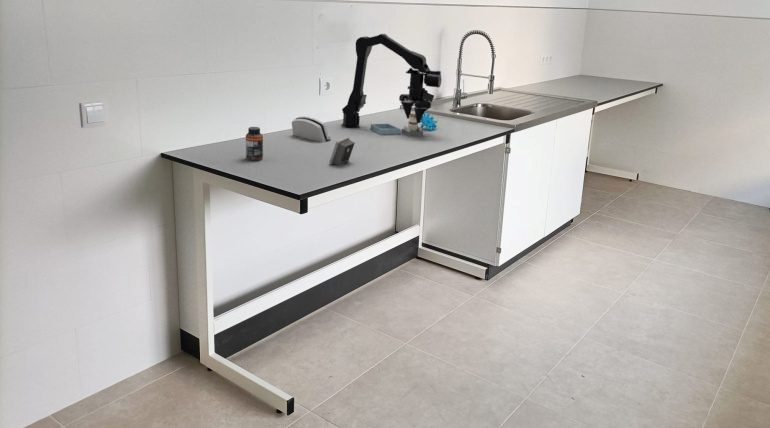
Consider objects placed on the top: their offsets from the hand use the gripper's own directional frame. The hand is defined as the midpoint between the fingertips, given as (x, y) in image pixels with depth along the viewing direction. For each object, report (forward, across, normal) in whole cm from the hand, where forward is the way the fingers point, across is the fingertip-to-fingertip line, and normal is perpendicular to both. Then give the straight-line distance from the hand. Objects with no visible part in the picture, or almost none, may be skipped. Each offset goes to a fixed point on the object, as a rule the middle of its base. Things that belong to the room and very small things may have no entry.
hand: (413, 120), depth 288 cm
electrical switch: (+6, -37, +49) cm, 62 cm away
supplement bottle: (+7, -26, +78) cm, 82 cm away
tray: (+6, +7, +10) cm, 14 cm away
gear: (+7, +9, -13) cm, 17 cm away
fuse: (+4, 0, 0) cm, 4 cm away
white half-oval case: (+7, +1, +47) cm, 48 cm away
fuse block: (+6, 0, 0) cm, 6 cm away
